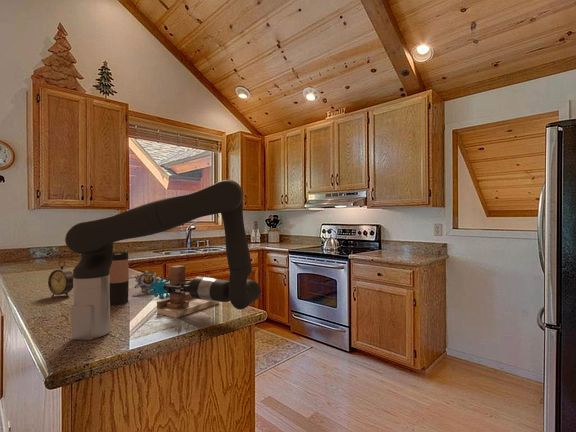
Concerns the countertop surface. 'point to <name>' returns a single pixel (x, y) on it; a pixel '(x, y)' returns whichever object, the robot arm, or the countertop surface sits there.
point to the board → (193, 306)
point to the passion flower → (146, 281)
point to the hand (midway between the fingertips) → (174, 284)
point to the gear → (159, 288)
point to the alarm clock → (61, 281)
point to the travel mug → (119, 279)
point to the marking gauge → (179, 276)
